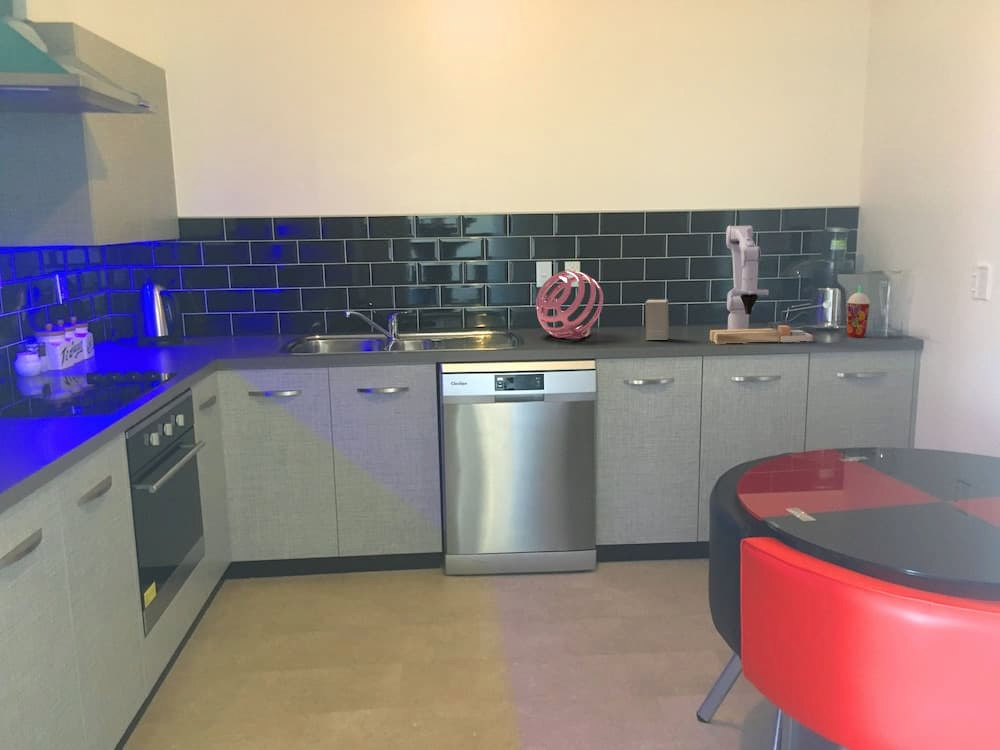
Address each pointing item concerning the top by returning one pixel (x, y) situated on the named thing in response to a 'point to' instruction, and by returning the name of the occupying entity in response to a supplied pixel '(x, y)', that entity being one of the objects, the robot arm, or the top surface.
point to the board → (743, 335)
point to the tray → (796, 338)
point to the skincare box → (657, 320)
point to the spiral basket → (563, 315)
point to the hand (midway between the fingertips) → (748, 314)
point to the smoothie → (857, 314)
